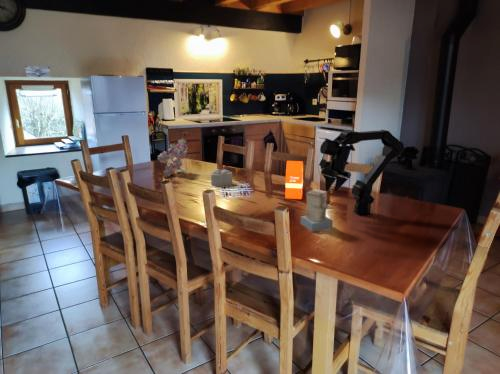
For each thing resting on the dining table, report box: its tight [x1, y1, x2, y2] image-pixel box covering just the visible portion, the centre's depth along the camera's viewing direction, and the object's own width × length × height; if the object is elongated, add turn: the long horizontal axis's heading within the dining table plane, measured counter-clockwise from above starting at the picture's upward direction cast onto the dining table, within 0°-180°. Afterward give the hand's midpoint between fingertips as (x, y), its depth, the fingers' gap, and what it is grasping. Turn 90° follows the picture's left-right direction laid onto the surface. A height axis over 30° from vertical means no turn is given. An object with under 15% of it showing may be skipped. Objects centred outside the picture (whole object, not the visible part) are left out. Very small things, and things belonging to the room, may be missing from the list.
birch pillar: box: [305, 188, 328, 222], centre depth 158 cm, size 6×6×12 cm
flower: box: [157, 138, 188, 177], centre depth 252 cm, size 20×22×25 cm
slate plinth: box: [300, 215, 334, 233], centre depth 160 cm, size 10×10×4 cm
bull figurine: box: [305, 186, 314, 199], centre depth 191 cm, size 4×13×8 cm, turn 15°
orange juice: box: [284, 160, 304, 200], centre depth 199 cm, size 8×9×20 cm
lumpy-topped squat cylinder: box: [210, 168, 233, 187], centre depth 227 cm, size 10×13×9 cm
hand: (331, 191), depth 168 cm, fingers open, 9 cm apart
